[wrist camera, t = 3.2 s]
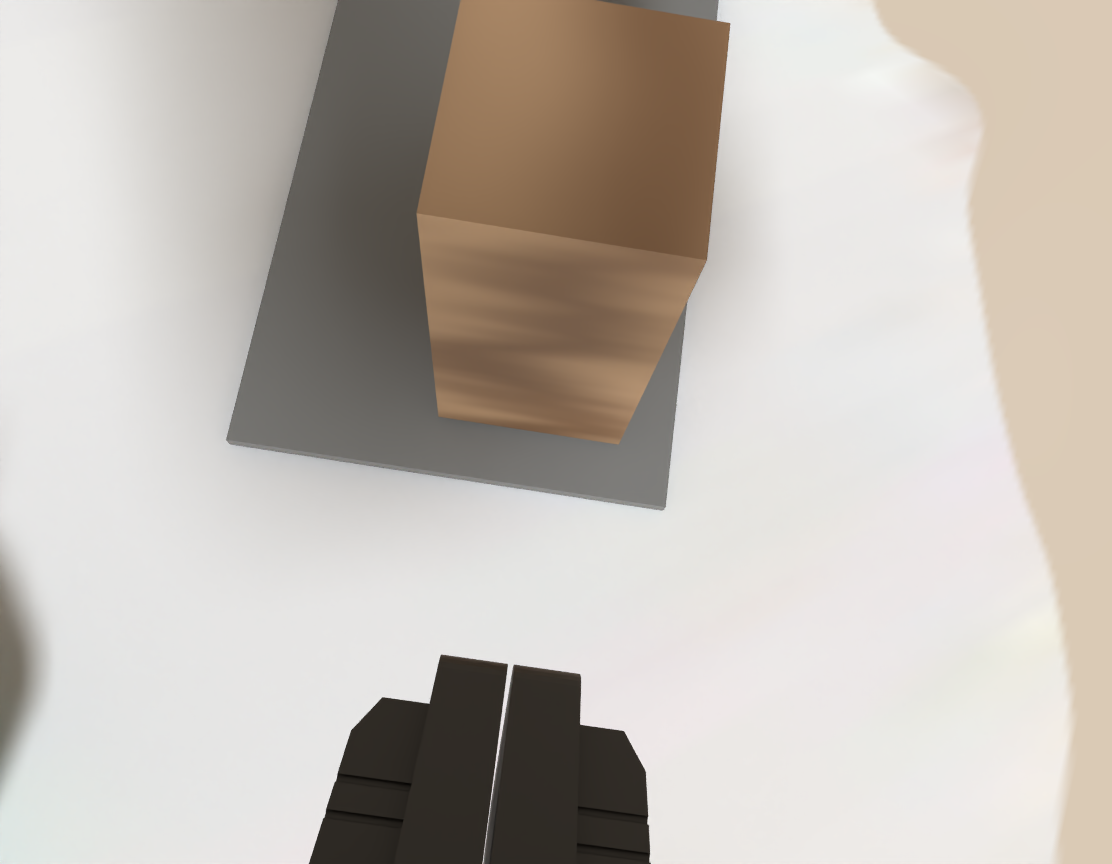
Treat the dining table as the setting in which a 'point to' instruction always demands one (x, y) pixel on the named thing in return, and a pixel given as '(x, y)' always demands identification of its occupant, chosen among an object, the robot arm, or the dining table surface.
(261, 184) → the dining table surface
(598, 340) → the walnut block
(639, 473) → the mat
